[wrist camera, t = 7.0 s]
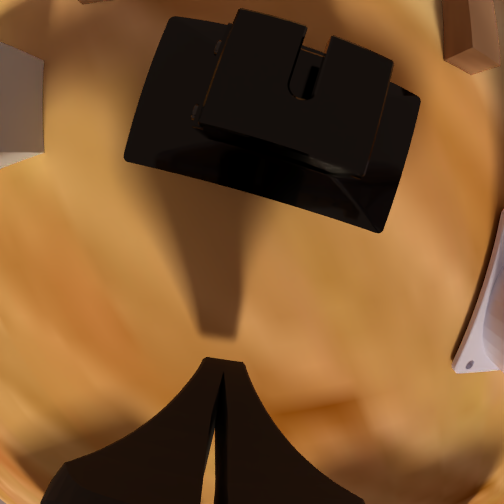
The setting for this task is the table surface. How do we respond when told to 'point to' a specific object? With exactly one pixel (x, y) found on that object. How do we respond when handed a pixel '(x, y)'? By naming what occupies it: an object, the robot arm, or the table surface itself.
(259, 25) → the black boxy piece
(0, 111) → the light gray block
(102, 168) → the table surface
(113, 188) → the table surface
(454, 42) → the bay
